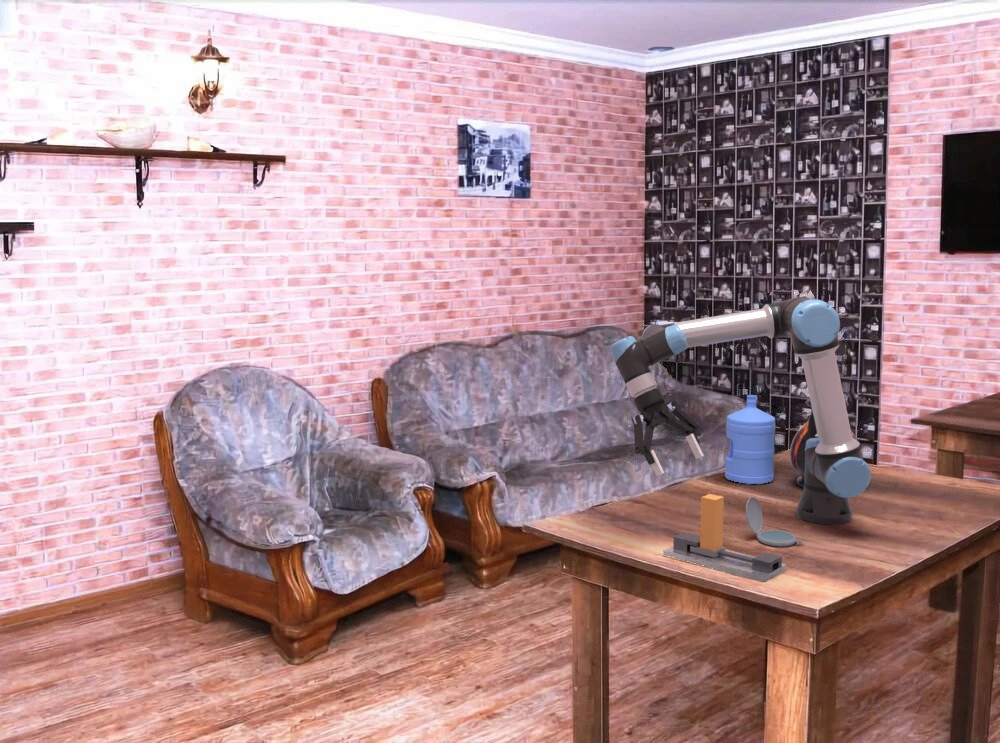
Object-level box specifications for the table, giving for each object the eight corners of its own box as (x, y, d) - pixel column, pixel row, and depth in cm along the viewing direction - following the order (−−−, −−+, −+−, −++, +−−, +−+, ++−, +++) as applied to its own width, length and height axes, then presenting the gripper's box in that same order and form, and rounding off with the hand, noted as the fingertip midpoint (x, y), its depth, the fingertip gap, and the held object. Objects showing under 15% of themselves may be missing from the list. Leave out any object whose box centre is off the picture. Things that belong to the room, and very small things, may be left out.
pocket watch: (757, 493, 269) (811, 501, 260) (755, 531, 271) (810, 541, 262) (742, 501, 261) (798, 510, 252) (741, 541, 263) (796, 551, 254)
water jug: (781, 478, 327) (784, 395, 323) (759, 487, 316) (762, 401, 312) (739, 471, 338) (741, 390, 334) (716, 479, 326) (718, 396, 322)
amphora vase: (810, 475, 332) (814, 392, 328) (871, 487, 316) (875, 400, 312) (775, 486, 318) (778, 400, 314) (837, 499, 302) (841, 409, 298)
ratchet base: (786, 570, 240) (786, 552, 239) (764, 582, 232) (764, 563, 231) (686, 545, 259) (687, 529, 258) (663, 555, 251) (663, 538, 250)
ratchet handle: (770, 563, 239) (772, 506, 237) (760, 569, 236) (762, 510, 234) (700, 546, 252) (702, 491, 250) (690, 551, 249) (691, 495, 247)
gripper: (673, 384, 271) (708, 454, 267) (601, 411, 260) (636, 485, 256) (688, 374, 265) (723, 446, 261) (614, 402, 253) (650, 478, 249)
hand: (680, 466), depth 258 cm, fingers open, 13 cm apart
